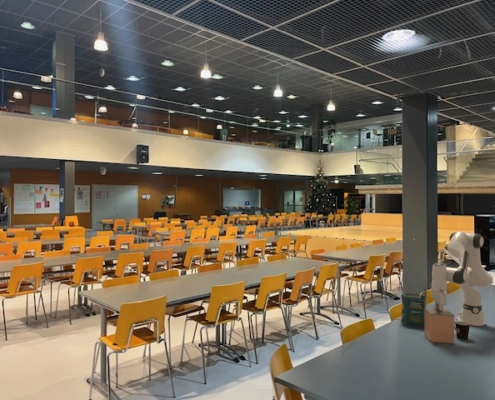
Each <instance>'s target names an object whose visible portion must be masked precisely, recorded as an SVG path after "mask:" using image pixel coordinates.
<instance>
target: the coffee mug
mask: <svg viewBox="0 0 495 400" xmlns="http://www.w3.org/2000/svg"><path fill="white" fill-rule="evenodd" d="M470 326H471V325H470V324H469V323H467V322H462V321H458V320H457V321H454V331H455V333H456V339H458V340H462V341H468V340H469V335H470Z"/></svg>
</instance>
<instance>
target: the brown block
mask: <svg viewBox="0 0 495 400" xmlns="http://www.w3.org/2000/svg"><path fill="white" fill-rule="evenodd" d="M454 322H455V314H454V313H452V312H451V311H450V310H449V309H448V308H443V310H440V312H438V310H436V309H435V307H434V308H432V307H431V308H430V307H426V308H425V328H423V329H424V332H423V334H424V336H425V337H426V338H427V340H428V341H429V342H431V343H432V342H434V343H442V344H445V343H446V344H454V343H455V328H454V327H455V323H454Z"/></svg>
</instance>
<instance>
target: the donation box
mask: <svg viewBox="0 0 495 400" xmlns="http://www.w3.org/2000/svg"><path fill="white" fill-rule="evenodd" d="M427 290H428V289H427V284H426V285H425V287H424V290H423V292H422V293H417V292H416V293H415V292H402V294H401V296H400V297H401V320H400V323H401V324H403V325H405V326H408V327H415V328H421V329H425V308H427V297H428V296H427V295H428V293H427V292H428V291H427Z"/></svg>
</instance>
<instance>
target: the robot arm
mask: <svg viewBox="0 0 495 400" xmlns="http://www.w3.org/2000/svg"><path fill="white" fill-rule="evenodd" d="M448 239H449V242H448V244H447V252H448V253H449V254H450V256H452V257H453V258H456V259H458V260H460V261H459V266H458V267H449V266H447V264H446V263H445V262H438V261H437V262H434V263H433V264H432V269H431V279H432V280H431V284H430V289H431V291H430V292H431V298H432V299H433V300H434V302H435V304H439V310H442V307H443V306H447V305H448V304H447V303H448V302H447V301H448V299H447V298H448V297H447V293H446V292H447V291H448V286H447V285H448V284H447V283H453V284H454V283H455V284H457V285H459V286H460V288H461V290H462V293H463V304H462V308H461V309H460V310H459V311H458V313H457V314H458V315H457V316H456V320H457V321H462V322H467V323H469V324H470V326H474V327H475V326H476V327H481V326H485V325H487V321H486V322H485V313H484V312H483V306H482V295H481V294H480V292H479V291H477V290H475V289H474V287H478V288H479V287H480V288H490V287H491V286H492V285H493V283H494V278H493V277H492V275H491V274H490V273H488V271H486V270H485V268H484V266H483V265H482V261H481V249H480V248H482V247H483V245H484V242H485V241H484V237H483V235H481V234H480V233H472V232H464V231H456V232H452V233H451V234H450V235H449V238H448ZM468 268H469V269H470V270H468ZM443 308H444V307H443Z"/></svg>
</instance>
